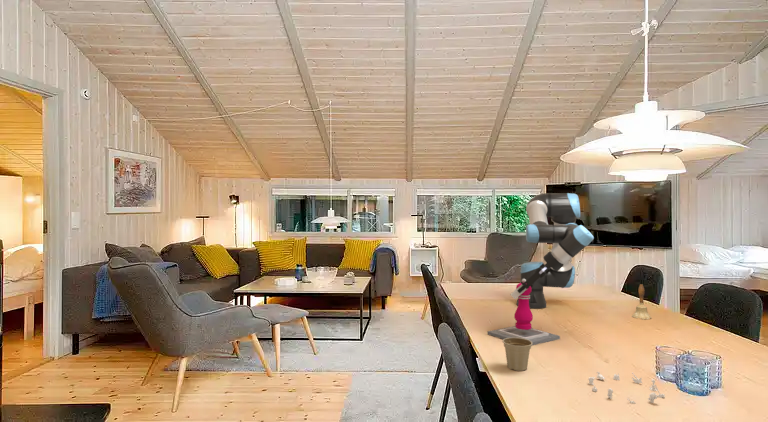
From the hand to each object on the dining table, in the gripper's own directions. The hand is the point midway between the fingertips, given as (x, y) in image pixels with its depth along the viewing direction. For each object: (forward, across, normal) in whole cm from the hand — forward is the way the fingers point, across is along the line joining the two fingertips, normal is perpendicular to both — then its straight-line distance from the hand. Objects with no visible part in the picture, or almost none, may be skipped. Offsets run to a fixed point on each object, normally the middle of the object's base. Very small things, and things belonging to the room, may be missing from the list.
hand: (514, 295), depth 190 cm
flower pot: (+6, -39, -18) cm, 43 cm away
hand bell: (-22, +62, -46) cm, 80 cm away
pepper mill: (+7, 0, -12) cm, 14 cm away
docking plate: (+9, 0, -14) cm, 17 cm away
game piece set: (-16, -43, -40) cm, 61 cm away
